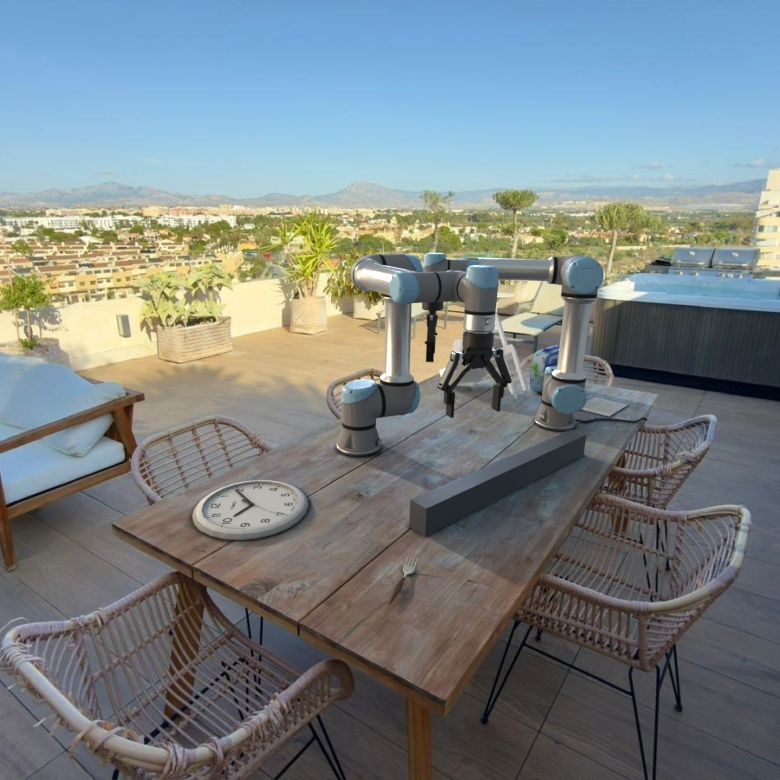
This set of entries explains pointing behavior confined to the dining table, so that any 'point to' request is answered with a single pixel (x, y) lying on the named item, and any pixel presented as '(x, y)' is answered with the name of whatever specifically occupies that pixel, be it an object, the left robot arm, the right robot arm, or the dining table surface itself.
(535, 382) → the lunch box
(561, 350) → the right robot arm
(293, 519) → the wall clock
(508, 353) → the white plastic object
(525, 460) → the bar
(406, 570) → the fork
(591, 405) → the invitation card
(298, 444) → the dining table surface
